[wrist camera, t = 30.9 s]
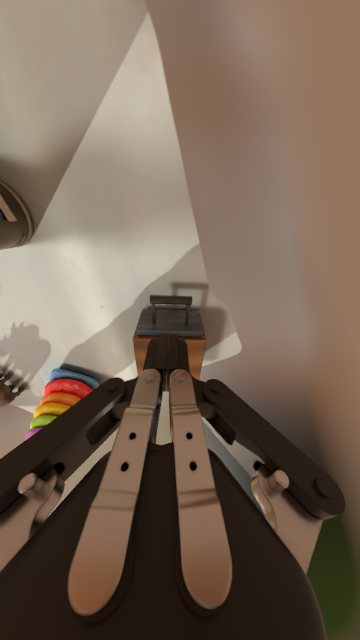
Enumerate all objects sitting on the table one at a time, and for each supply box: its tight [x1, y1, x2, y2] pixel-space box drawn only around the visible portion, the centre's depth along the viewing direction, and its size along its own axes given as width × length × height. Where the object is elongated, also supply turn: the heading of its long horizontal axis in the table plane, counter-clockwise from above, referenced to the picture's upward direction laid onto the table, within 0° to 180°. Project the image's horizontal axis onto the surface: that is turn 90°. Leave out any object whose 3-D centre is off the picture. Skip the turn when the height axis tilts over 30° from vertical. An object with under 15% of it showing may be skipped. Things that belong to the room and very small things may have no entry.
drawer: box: [137, 295, 203, 337], centre depth 34 cm, size 19×11×7 cm, turn 177°
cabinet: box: [133, 312, 206, 390], centre depth 37 cm, size 15×13×9 cm
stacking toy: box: [25, 369, 100, 441], centre depth 39 cm, size 14×13×23 cm
